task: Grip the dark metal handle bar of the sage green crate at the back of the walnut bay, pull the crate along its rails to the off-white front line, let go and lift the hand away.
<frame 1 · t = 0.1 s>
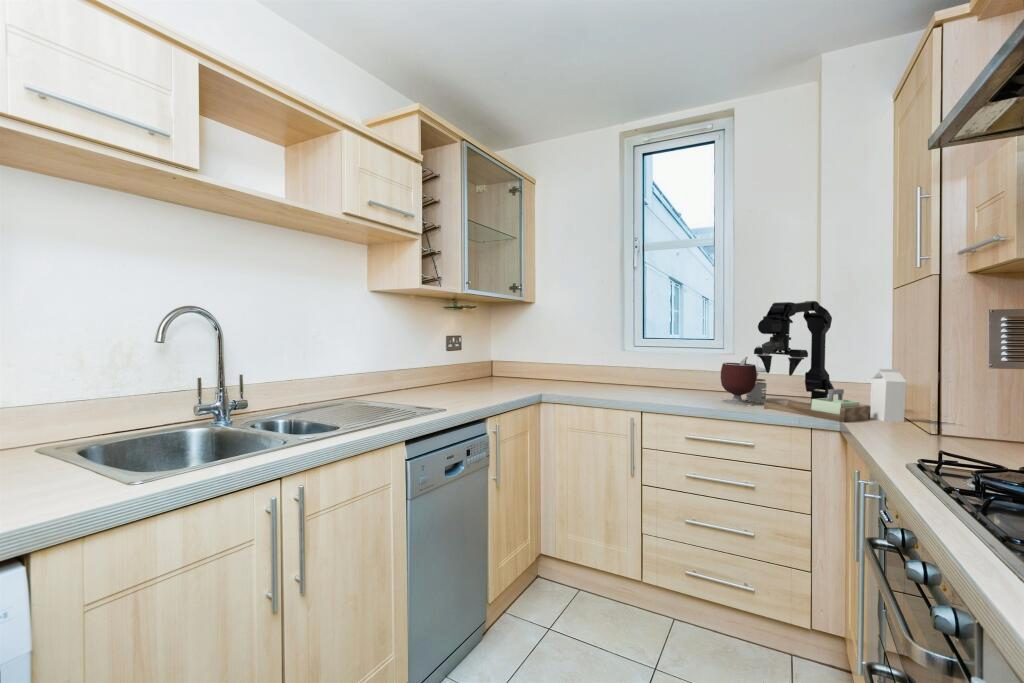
hand: (778, 374, 186), 15 cm above the countertop, tool pointing down, fingers open, 9 cm apart
french press: (755, 400, 214), on the countertop
mate gourd: (737, 403, 204), on the countertop
bay: (817, 415, 179), on the countertop
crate: (835, 403, 173), point 6 cm above the countertop, slide at 15.0 cm
milk carton: (886, 422, 171), on the countertop
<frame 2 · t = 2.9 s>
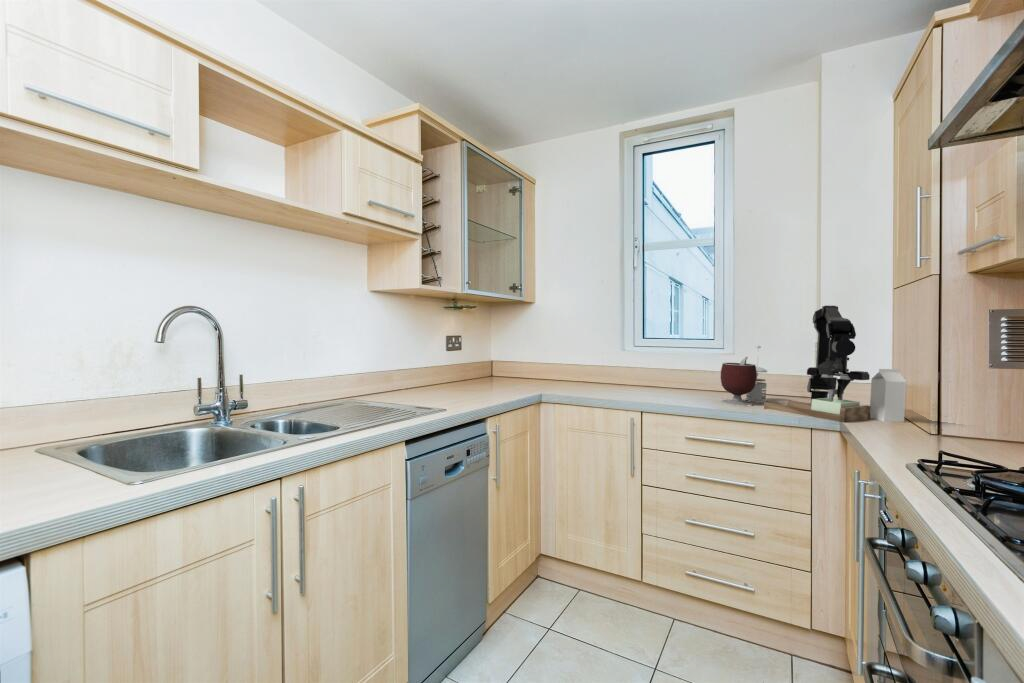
hand: (835, 397, 173), 8 cm above the countertop, tool pointing down, fingers closed on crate, 2 cm apart
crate: (835, 403, 173), point 6 cm above the countertop, slide at 15.0 cm, touching gripper
everything else where it was.
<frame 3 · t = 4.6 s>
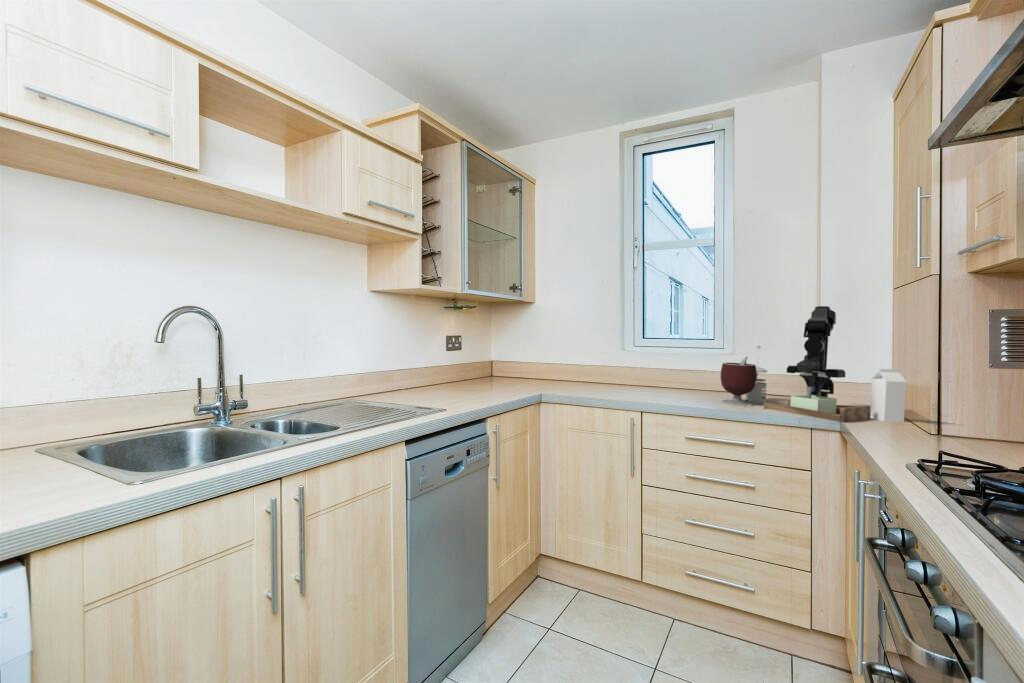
hand: (813, 394, 180), 8 cm above the countertop, tool pointing down, fingers closed on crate, 2 cm apart
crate: (813, 399, 180), point 6 cm above the countertop, slide at 7.2 cm, touching gripper
everything else where it was.
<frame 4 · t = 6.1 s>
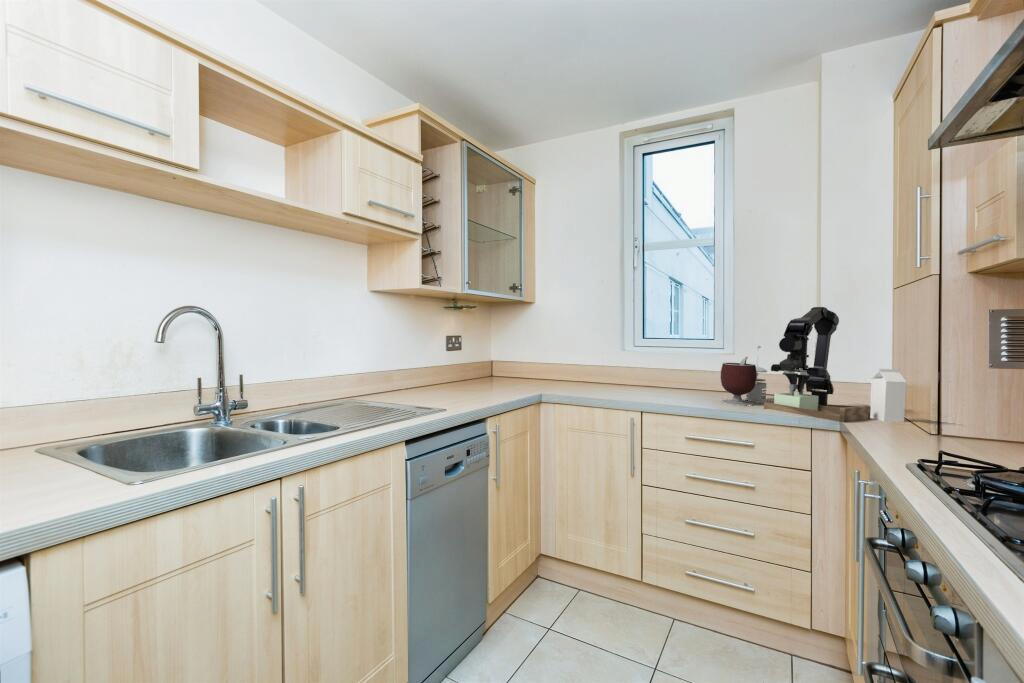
hand: (796, 391, 186), 8 cm above the countertop, tool pointing down, fingers closed on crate, 2 cm apart
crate: (796, 397, 186), point 6 cm above the countertop, slide at 0.6 cm, touching gripper
everything else where it was.
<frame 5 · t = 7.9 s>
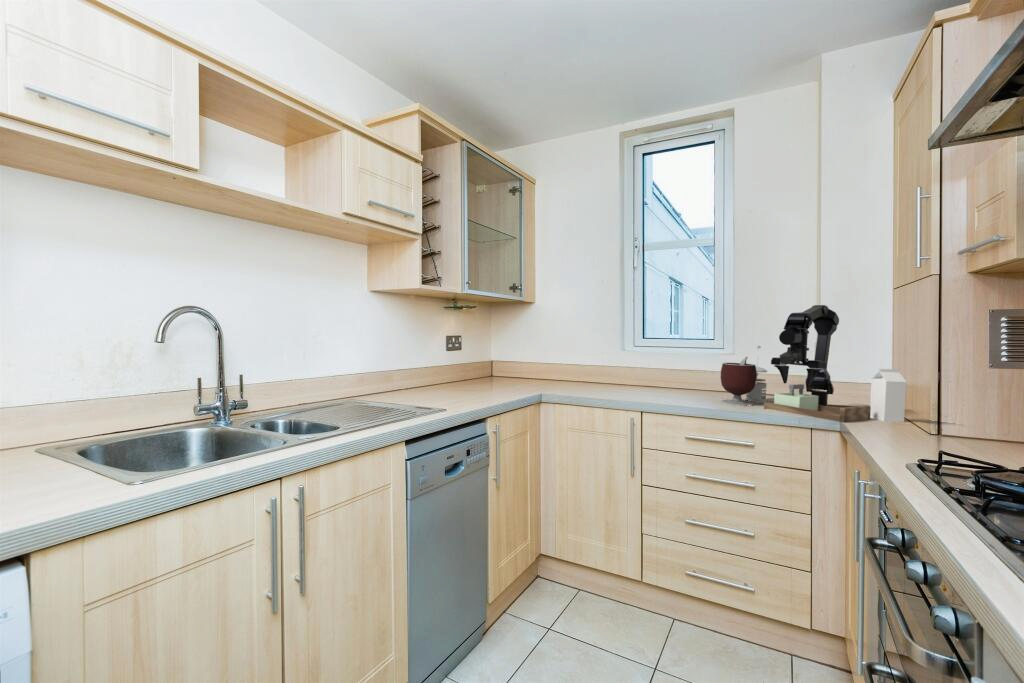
hand: (796, 384, 186), 11 cm above the countertop, tool pointing down, fingers open, 9 cm apart
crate: (796, 397, 186), point 6 cm above the countertop, slide at 0.6 cm
everything else where it was.
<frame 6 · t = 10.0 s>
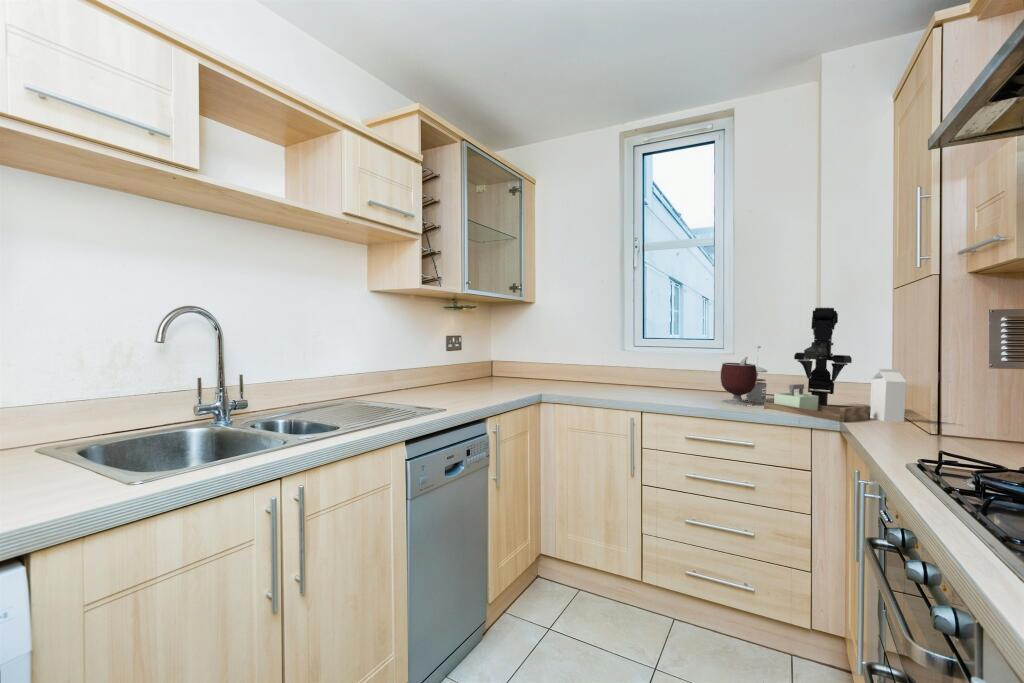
hand: (820, 379, 186), 13 cm above the countertop, tool pointing down, fingers open, 9 cm apart
nothing on the countertop moved.
at the end: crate slide at 0.6 cm; the gripper is holding nothing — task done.
